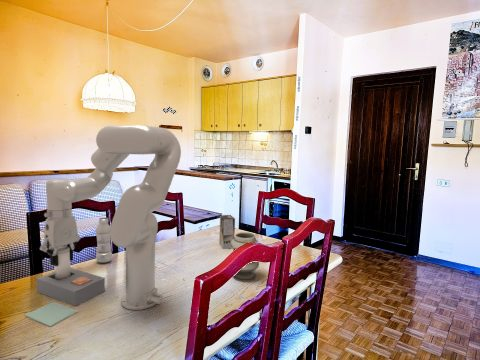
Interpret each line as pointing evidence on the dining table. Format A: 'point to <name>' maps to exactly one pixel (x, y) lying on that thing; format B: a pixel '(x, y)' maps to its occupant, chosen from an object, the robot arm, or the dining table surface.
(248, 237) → the apothecary jar
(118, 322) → the dining table surface
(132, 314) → the dining table surface
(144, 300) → the robot arm
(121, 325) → the dining table surface
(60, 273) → the cylinder
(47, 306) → the mat
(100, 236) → the plastic bottle
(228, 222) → the coffee box
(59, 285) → the housing
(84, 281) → the square push button
